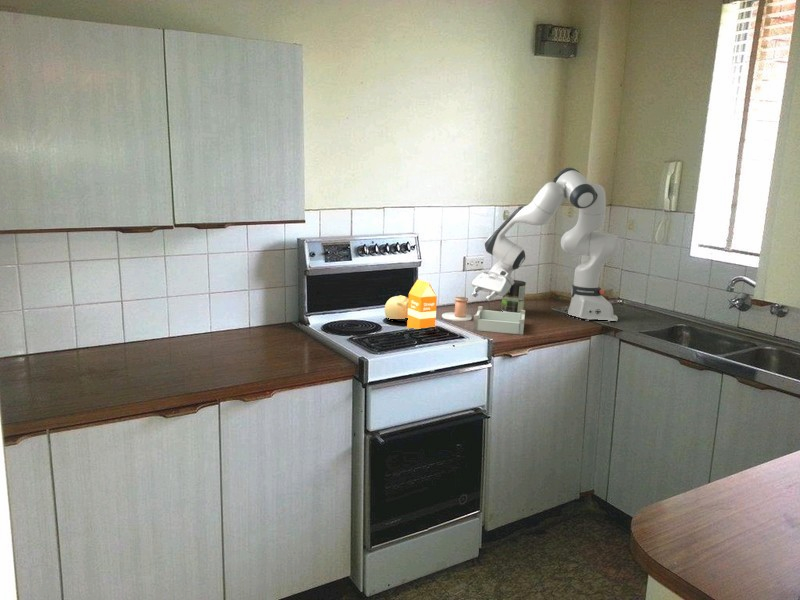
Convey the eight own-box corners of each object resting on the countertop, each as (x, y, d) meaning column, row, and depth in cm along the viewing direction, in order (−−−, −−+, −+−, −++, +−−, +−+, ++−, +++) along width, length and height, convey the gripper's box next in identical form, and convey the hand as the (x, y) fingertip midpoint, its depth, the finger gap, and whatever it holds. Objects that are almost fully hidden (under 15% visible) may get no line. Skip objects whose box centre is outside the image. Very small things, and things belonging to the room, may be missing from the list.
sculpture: (407, 324, 278) (409, 299, 276) (380, 321, 281) (381, 296, 279) (415, 319, 289) (417, 294, 286) (389, 316, 292) (390, 291, 290)
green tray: (524, 323, 290) (525, 310, 288) (522, 334, 270) (524, 320, 269) (477, 319, 293) (478, 306, 292) (473, 330, 274) (474, 315, 273)
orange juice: (422, 327, 275) (425, 278, 271) (435, 332, 268) (438, 282, 264) (406, 328, 271) (409, 279, 267) (418, 333, 263) (421, 283, 260)
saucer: (473, 316, 300) (473, 313, 300) (470, 322, 288) (470, 320, 287) (444, 313, 302) (444, 311, 302) (440, 319, 290) (440, 317, 290)
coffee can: (507, 314, 307) (509, 283, 305) (497, 309, 317) (499, 279, 314) (527, 313, 311) (529, 283, 308) (517, 309, 320) (519, 279, 317)
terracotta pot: (467, 315, 296) (468, 297, 294) (466, 318, 290) (467, 300, 288) (454, 314, 297) (455, 296, 295) (452, 317, 291) (453, 299, 289)
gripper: (479, 266, 311) (462, 289, 308) (510, 274, 295) (492, 297, 291) (486, 275, 315) (469, 298, 311) (517, 283, 298) (499, 307, 295)
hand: (480, 298), depth 301 cm, fingers open, 8 cm apart
